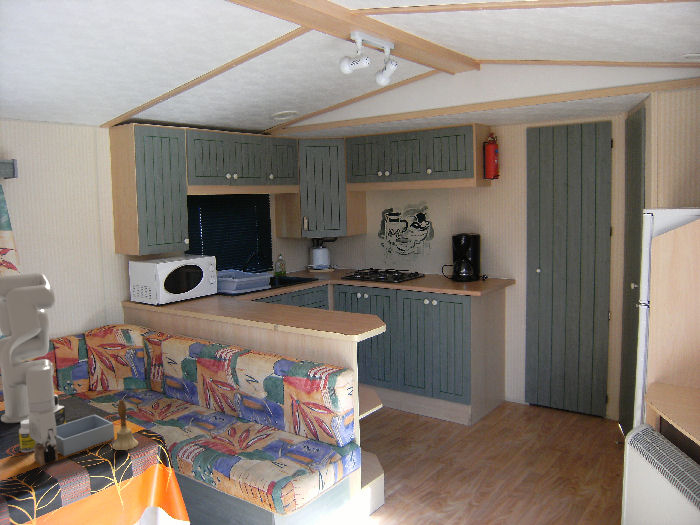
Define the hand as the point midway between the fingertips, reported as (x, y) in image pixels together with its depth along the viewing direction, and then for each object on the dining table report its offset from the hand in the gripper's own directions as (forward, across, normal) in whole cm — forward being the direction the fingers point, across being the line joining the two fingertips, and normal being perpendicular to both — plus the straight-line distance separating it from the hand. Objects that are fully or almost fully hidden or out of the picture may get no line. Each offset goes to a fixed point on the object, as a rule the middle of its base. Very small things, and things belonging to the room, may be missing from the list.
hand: (46, 458), depth 190 cm
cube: (+1, 0, 0) cm, 1 cm away
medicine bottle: (+1, -26, +12) cm, 29 cm away
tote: (+1, -5, +14) cm, 14 cm away
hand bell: (+1, +10, +22) cm, 24 cm away
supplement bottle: (+1, -13, 0) cm, 13 cm away
